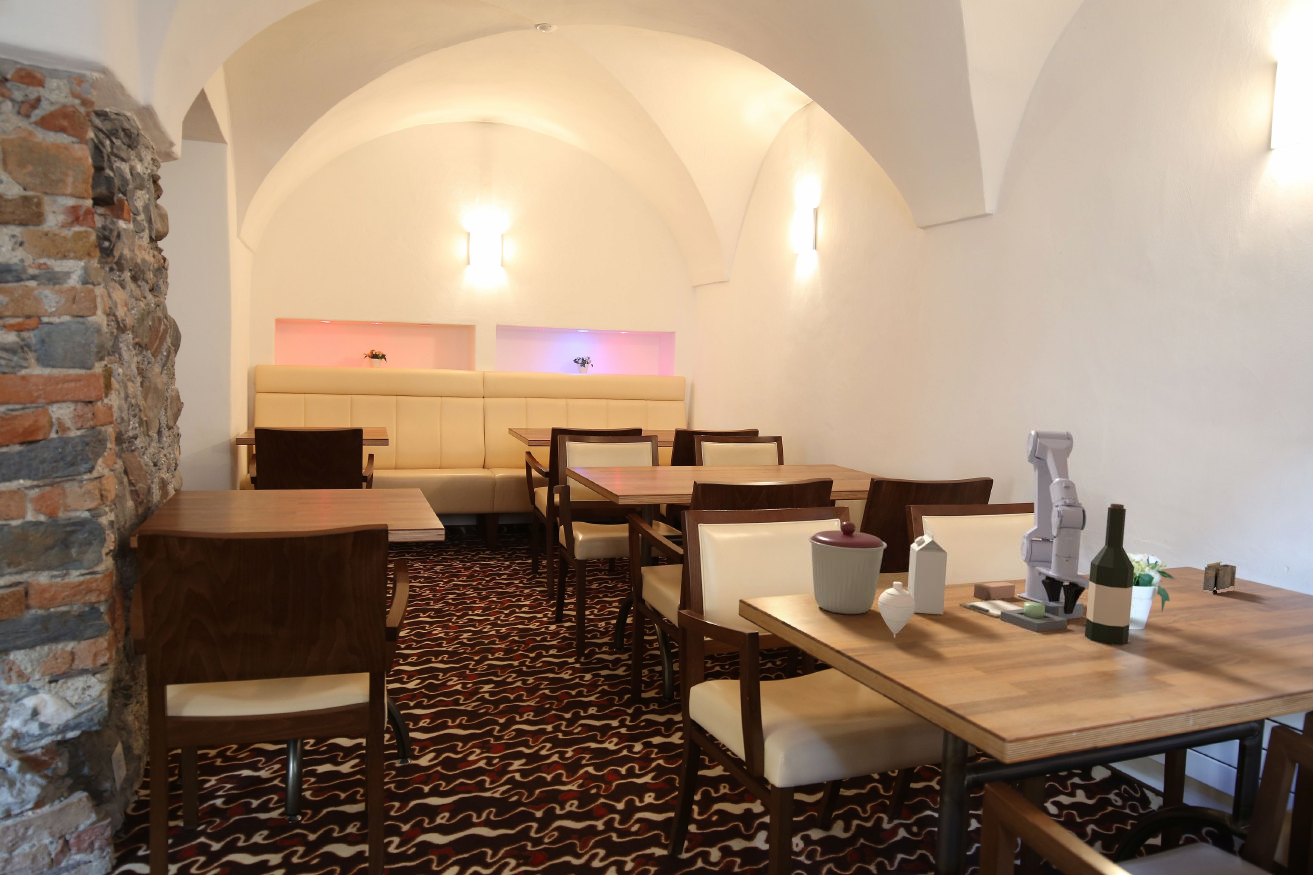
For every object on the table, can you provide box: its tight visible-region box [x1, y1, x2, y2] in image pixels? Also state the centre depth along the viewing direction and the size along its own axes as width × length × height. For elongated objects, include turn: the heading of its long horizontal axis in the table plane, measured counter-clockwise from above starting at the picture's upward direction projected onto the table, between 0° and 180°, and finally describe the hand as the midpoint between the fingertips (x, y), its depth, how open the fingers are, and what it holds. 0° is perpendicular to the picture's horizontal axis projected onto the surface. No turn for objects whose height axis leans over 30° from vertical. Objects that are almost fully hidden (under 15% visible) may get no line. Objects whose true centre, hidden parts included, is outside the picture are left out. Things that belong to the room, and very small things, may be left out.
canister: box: [808, 521, 888, 615], centre depth 194 cm, size 18×18×21 cm
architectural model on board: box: [1202, 561, 1237, 592], centre depth 230 cm, size 11×3×10 cm, turn 119°
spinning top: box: [877, 581, 915, 639], centre depth 173 cm, size 8×8×12 cm
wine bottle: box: [1084, 503, 1135, 646], centre depth 178 cm, size 8×8×30 cm
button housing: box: [999, 609, 1068, 633], centre depth 189 cm, size 10×10×2 cm
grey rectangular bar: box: [1041, 600, 1084, 620], centre depth 196 cm, size 11×3×3 cm, turn 116°
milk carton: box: [907, 529, 948, 615], centre depth 196 cm, size 7×7×19 cm
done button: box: [1023, 601, 1045, 620], centre depth 189 cm, size 4×4×3 cm
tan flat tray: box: [959, 599, 1024, 619], centre depth 201 cm, size 14×11×1 cm
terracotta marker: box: [973, 581, 1016, 601], centre depth 213 cm, size 11×3×3 cm, turn 116°
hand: (1061, 611), depth 196 cm, fingers closed on grey rectangular bar, 3 cm apart
